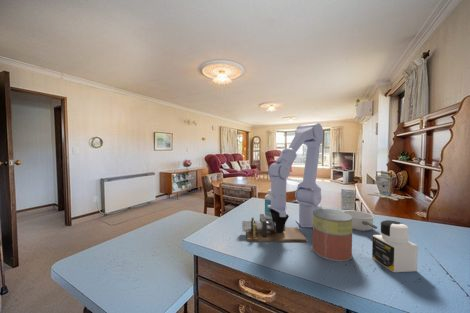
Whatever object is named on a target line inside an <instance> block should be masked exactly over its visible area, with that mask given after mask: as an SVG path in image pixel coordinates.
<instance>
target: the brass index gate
mask: <svg viewBox="0 0 470 313" xmlns="http://www.w3.org/2000/svg"><path fill="white" fill-rule="evenodd" d="M254 219H255V217H253V216H251V221H255V220H254ZM252 237H257V235H255V224H253V235H252Z"/></svg>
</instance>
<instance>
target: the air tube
mask: <svg viewBox="0 0 470 313" xmlns="http://www.w3.org/2000/svg"><path fill="white" fill-rule="evenodd" d="M266 221H267V232H271V233H274V232H277V231H276V224H275V221H274V220H266ZM241 224H242V225H241V226H242V227H241V228H242V230H241V232H244V233H245V232H246V233H247V232H253V224H255V232H262V221H260V220H254V221H252V220H242V222H241ZM285 227H286V225H285V226H284V230H283V232H285Z"/></svg>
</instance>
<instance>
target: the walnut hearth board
mask: <svg viewBox="0 0 470 313" xmlns="http://www.w3.org/2000/svg"><path fill="white" fill-rule="evenodd" d="M252 235H253V232H246V239H247V242H288V243H289V242H292V243H293V242H295V243H296V242H299V243H301V242H302V243H303V242H305V243H307V242H308V240H307V237H306V236H304V234H303V233H302V231H300V229H299V228H298V227H295V226H293V227H292V226H285V232H283V233H277V232H274V233H271V232H267V237H262V232H255V235H257V237H252Z"/></svg>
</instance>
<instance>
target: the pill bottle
mask: <svg viewBox="0 0 470 313" xmlns="http://www.w3.org/2000/svg"><path fill="white" fill-rule="evenodd" d="M268 205H271V188H270V189H267V194H266V195H264V216H265V218H266V220H268V221H270V220H272V215H271V212H270V210H269V208H268Z"/></svg>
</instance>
